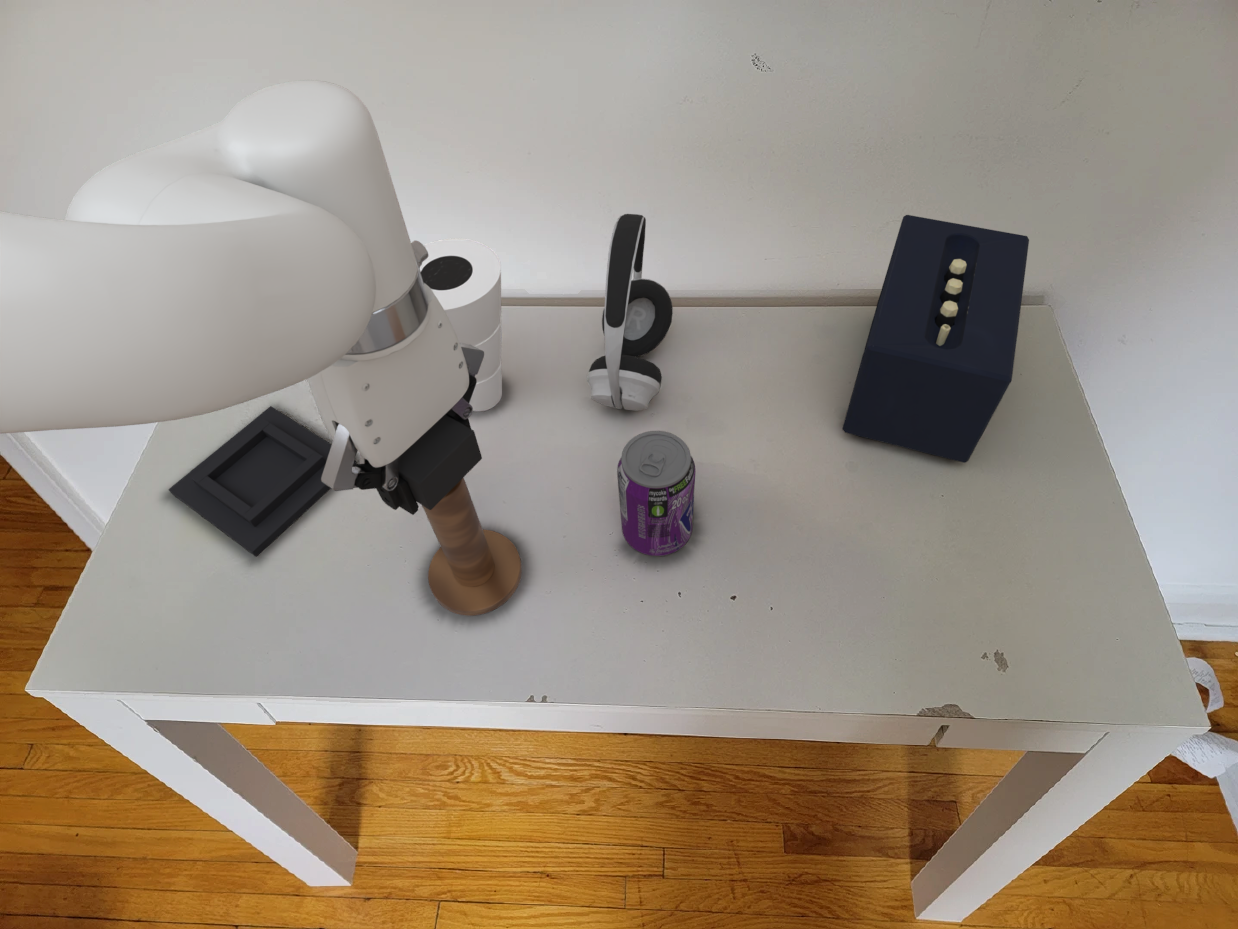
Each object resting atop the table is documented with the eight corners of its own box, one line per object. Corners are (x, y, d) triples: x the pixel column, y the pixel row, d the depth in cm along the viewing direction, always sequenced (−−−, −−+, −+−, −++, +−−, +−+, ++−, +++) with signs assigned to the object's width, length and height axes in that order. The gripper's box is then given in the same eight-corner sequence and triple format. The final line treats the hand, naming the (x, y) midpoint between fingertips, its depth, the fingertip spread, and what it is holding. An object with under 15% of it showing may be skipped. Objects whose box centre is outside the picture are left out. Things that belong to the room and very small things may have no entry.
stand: (480, 633, 71) (440, 545, 59) (411, 585, 75) (359, 492, 62) (540, 562, 76) (515, 466, 63) (472, 519, 79) (435, 420, 66)
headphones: (608, 317, 96) (598, 173, 80) (675, 321, 95) (678, 176, 79) (582, 436, 85) (564, 297, 69) (658, 442, 84) (657, 302, 68)
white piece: (416, 407, 88) (368, 285, 74) (475, 350, 94) (441, 226, 79) (487, 445, 85) (451, 324, 70) (545, 384, 90) (522, 259, 75)
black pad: (430, 511, 58) (419, 484, 55) (375, 476, 60) (361, 448, 57) (482, 458, 61) (474, 430, 58) (427, 426, 63) (417, 398, 60)
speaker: (875, 311, 94) (906, 205, 82) (984, 334, 91) (1033, 228, 79) (838, 441, 83) (868, 340, 71) (962, 473, 80) (1016, 374, 67)
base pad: (256, 557, 77) (246, 546, 76) (172, 494, 83) (161, 482, 81) (357, 463, 84) (350, 451, 82) (274, 411, 89) (266, 398, 87)
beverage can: (675, 570, 74) (677, 501, 65) (610, 544, 76) (602, 474, 67) (702, 513, 78) (708, 440, 68) (639, 490, 80) (636, 416, 70)
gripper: (417, 210, 53) (469, 389, 67) (209, 362, 44) (319, 529, 59) (501, 246, 50) (536, 425, 64) (295, 415, 41) (388, 577, 56)
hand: (431, 474), depth 61 cm, fingers closed on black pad, 6 cm apart
